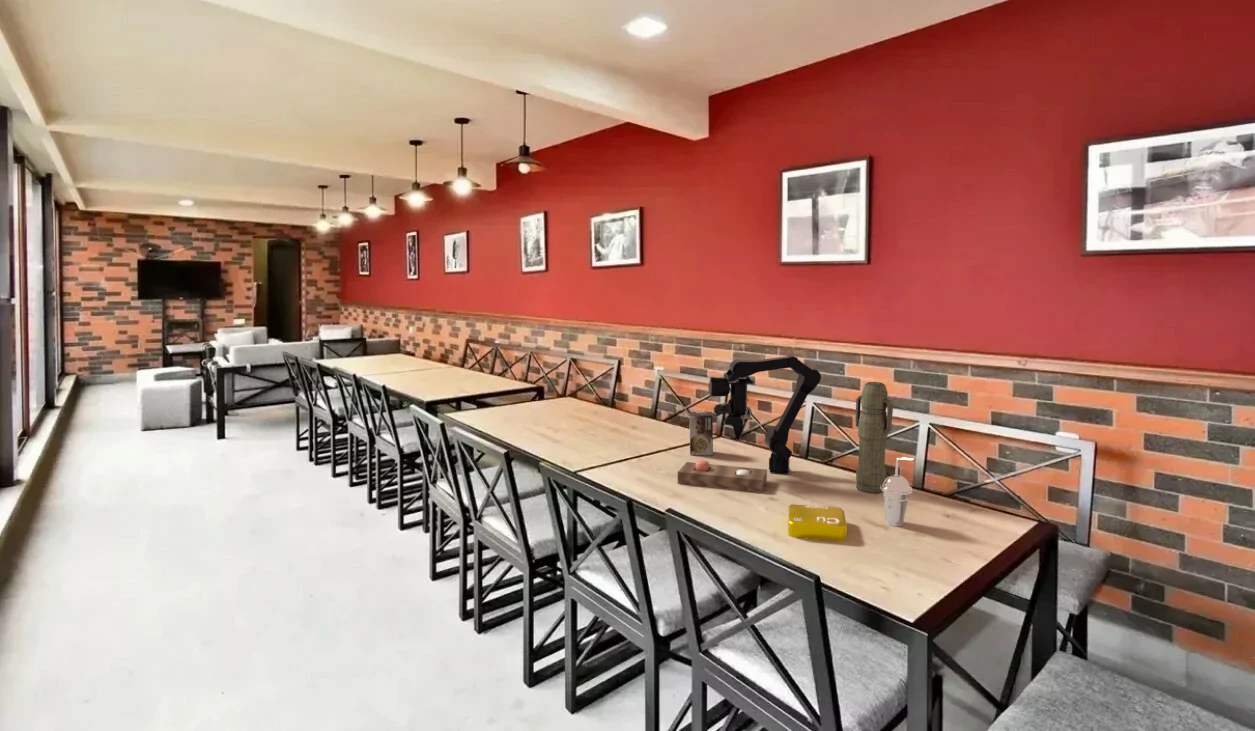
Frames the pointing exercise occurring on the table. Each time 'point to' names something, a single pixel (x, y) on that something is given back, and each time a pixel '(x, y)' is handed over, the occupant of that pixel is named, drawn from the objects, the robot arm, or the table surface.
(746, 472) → the pin
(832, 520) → the element tile
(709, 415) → the coffee box
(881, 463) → the thermos
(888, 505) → the cup with straw
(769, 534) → the table surface
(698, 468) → the pink rounded block
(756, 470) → the pin block
